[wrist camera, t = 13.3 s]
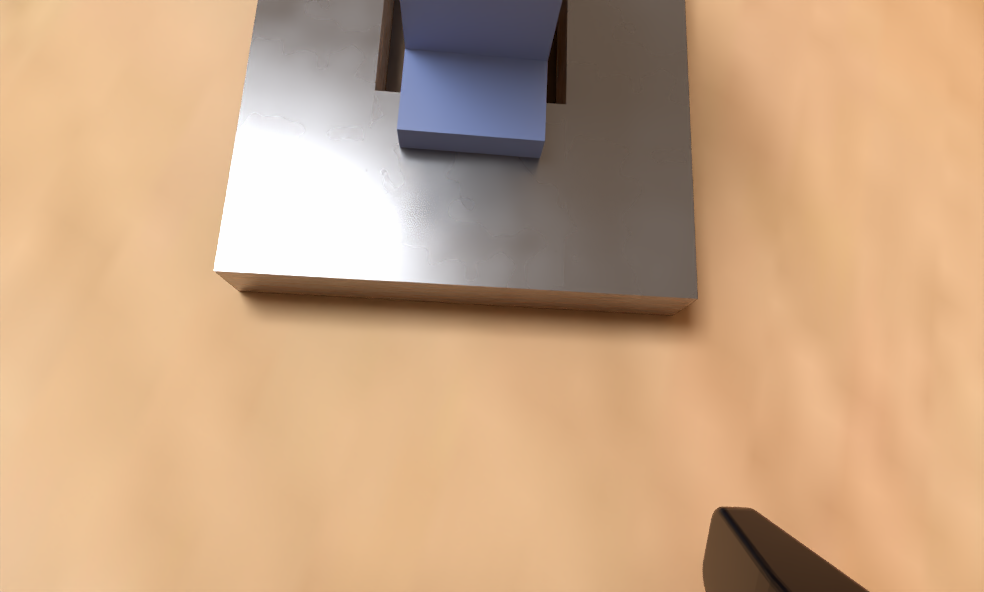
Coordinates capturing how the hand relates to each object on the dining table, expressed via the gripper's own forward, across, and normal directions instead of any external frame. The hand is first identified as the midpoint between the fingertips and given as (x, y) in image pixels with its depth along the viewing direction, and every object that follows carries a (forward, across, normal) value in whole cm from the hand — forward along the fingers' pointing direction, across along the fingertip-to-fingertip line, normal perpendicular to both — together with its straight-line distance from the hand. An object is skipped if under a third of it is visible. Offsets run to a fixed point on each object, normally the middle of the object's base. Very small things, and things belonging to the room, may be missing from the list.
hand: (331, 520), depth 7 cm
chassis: (+17, -1, -6) cm, 18 cm away
